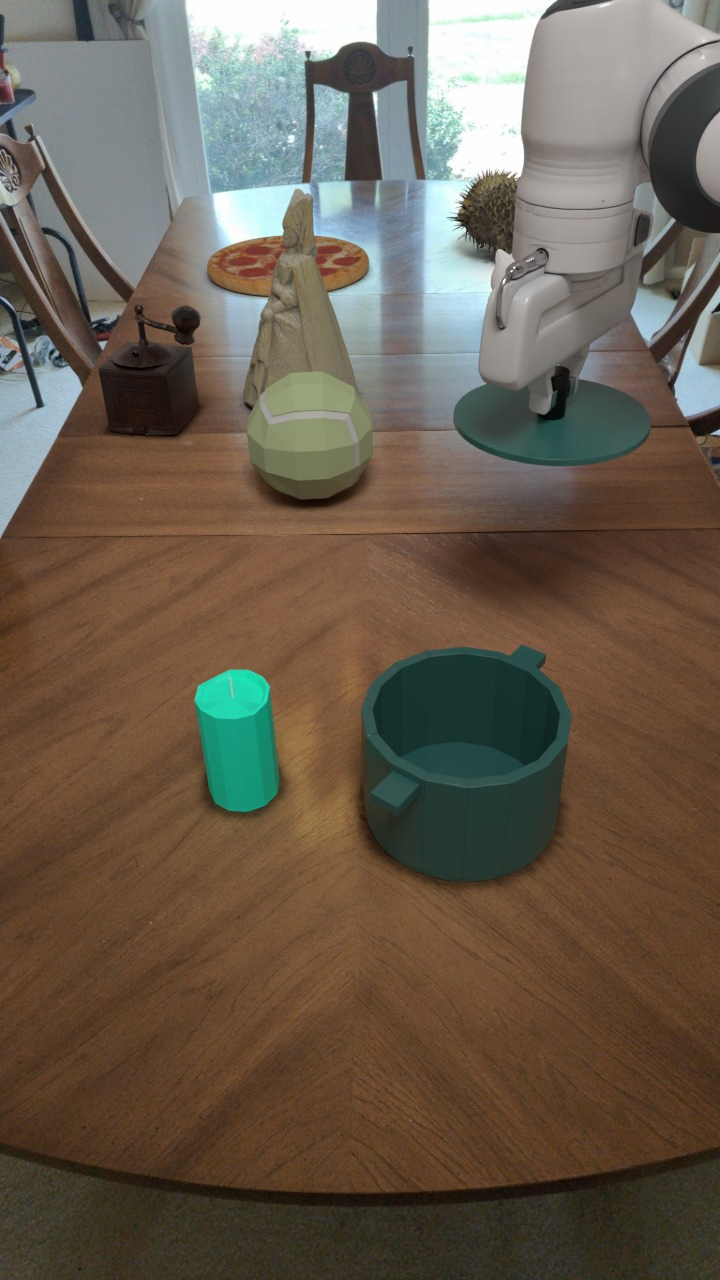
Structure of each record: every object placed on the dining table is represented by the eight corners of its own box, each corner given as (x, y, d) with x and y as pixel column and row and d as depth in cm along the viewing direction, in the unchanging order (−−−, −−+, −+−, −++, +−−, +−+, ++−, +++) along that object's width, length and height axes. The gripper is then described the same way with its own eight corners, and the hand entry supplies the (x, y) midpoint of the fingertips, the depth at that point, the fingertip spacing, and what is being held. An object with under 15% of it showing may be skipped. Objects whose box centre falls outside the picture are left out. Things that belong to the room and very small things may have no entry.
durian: (455, 148, 197) (448, 175, 182) (580, 162, 195) (584, 189, 180) (444, 237, 208) (437, 268, 193) (562, 250, 206) (565, 283, 191)
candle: (276, 757, 86) (264, 650, 79) (283, 806, 82) (272, 697, 74) (207, 766, 86) (190, 659, 78) (211, 817, 81) (192, 708, 74)
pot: (605, 771, 84) (622, 677, 78) (472, 941, 71) (480, 845, 65) (450, 700, 92) (454, 609, 86) (305, 841, 79) (297, 746, 72)
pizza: (402, 268, 195) (402, 253, 194) (284, 310, 177) (283, 294, 176) (292, 238, 213) (291, 225, 211) (175, 274, 195) (173, 259, 193)
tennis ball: (377, 518, 119) (375, 401, 109) (253, 524, 118) (241, 408, 109) (367, 460, 130) (365, 351, 121) (255, 466, 130) (244, 357, 121)
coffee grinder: (105, 434, 139) (80, 306, 128) (135, 401, 147) (114, 279, 136) (209, 442, 136) (193, 313, 125) (234, 409, 144) (221, 285, 133)
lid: (681, 417, 87) (692, 360, 84) (592, 493, 77) (600, 432, 73) (515, 373, 95) (519, 320, 92) (415, 437, 85) (416, 380, 82)
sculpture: (214, 376, 150) (275, 173, 136) (322, 405, 158) (390, 216, 145) (239, 419, 137) (309, 199, 123) (355, 448, 145) (433, 245, 132)
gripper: (539, 277, 68) (523, 458, 77) (663, 211, 81) (638, 372, 89) (462, 262, 71) (455, 437, 80) (594, 201, 84) (575, 357, 92)
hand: (553, 402), depth 85 cm, fingers closed on lid, 2 cm apart
